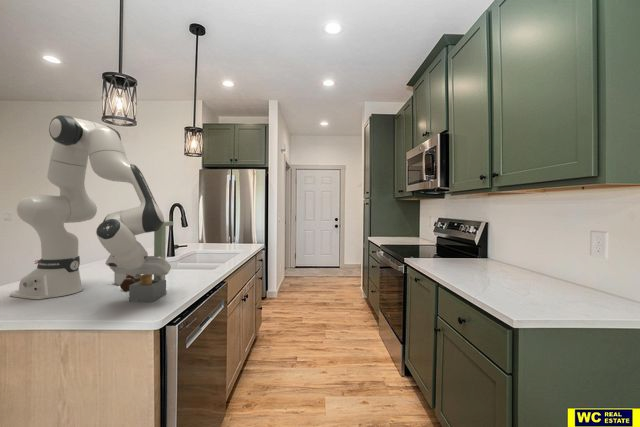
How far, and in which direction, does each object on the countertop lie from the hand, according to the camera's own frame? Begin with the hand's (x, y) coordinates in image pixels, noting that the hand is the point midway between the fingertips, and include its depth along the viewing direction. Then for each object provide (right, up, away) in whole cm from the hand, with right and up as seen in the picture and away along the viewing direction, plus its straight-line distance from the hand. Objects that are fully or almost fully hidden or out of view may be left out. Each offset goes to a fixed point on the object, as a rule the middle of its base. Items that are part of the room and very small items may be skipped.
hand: (150, 277), depth 113 cm
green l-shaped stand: (-1, -8, +3) cm, 9 cm away
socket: (-1, -8, 0) cm, 8 cm away
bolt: (-16, -8, +15) cm, 23 cm away
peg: (-1, -8, 0) cm, 8 cm away
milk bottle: (-23, -7, +20) cm, 31 cm away
